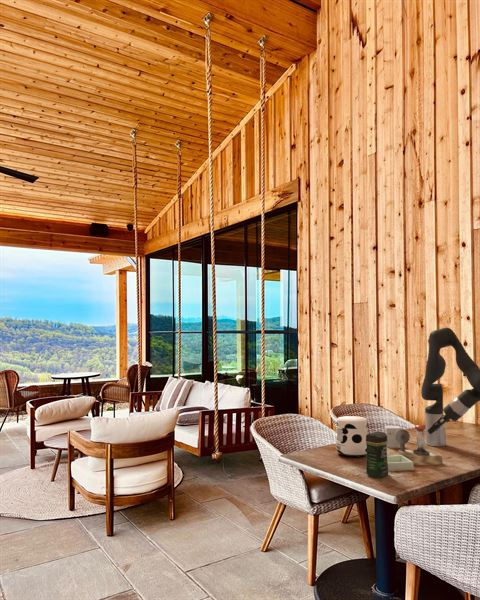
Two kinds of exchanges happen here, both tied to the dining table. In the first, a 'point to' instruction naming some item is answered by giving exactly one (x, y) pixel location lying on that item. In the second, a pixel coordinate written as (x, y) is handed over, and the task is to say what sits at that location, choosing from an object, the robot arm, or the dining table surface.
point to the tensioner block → (413, 455)
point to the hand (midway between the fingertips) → (431, 430)
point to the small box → (392, 436)
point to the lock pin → (420, 437)
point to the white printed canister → (352, 436)
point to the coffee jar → (376, 454)
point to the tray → (399, 463)
